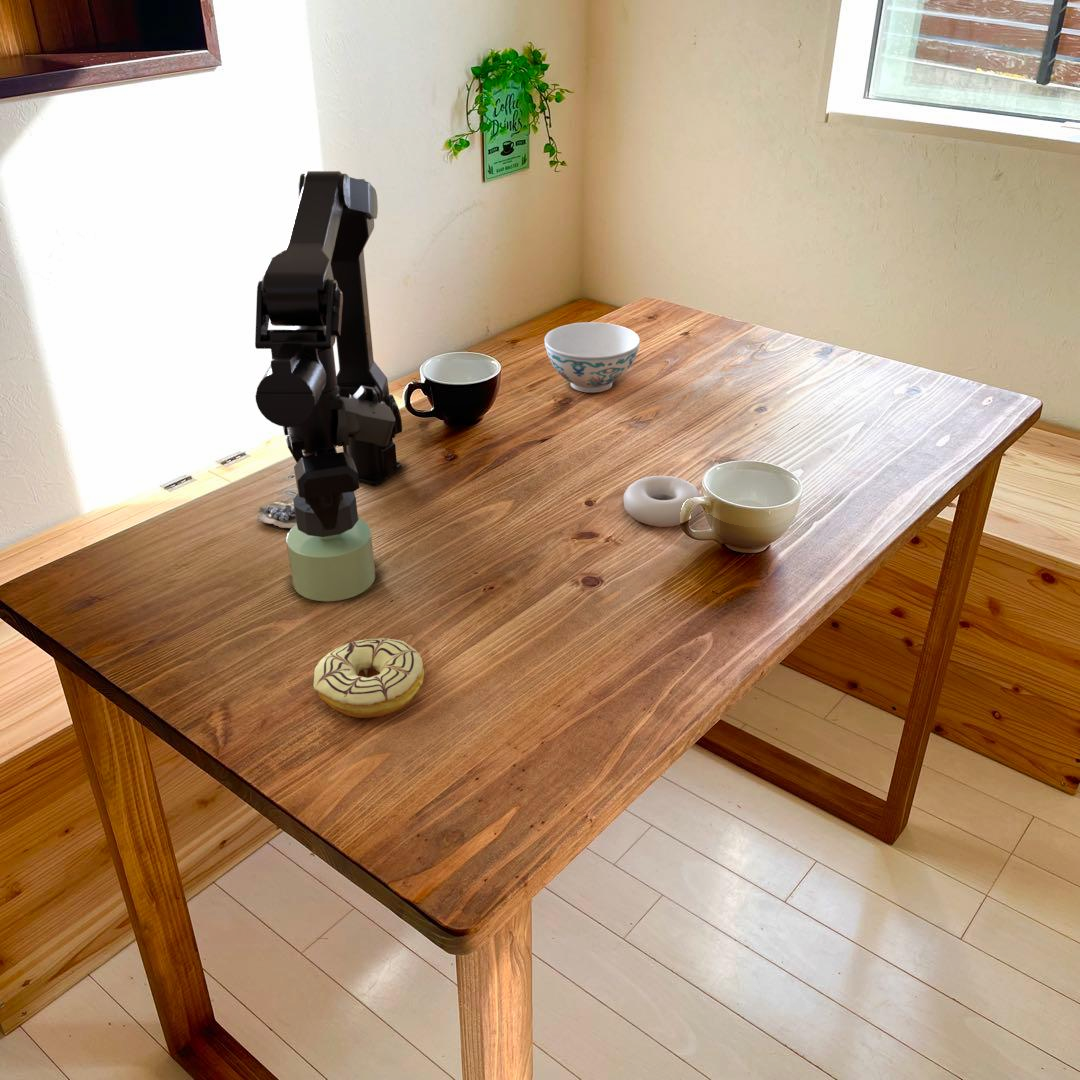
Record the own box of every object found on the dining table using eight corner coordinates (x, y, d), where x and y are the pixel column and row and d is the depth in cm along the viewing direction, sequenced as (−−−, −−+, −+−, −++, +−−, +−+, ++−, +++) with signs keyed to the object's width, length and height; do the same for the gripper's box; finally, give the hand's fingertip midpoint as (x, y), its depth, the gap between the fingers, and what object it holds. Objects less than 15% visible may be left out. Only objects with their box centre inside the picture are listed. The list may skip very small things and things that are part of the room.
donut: (617, 528, 139) (697, 535, 137) (618, 504, 137) (699, 510, 135) (628, 491, 147) (703, 496, 145) (628, 468, 145) (705, 473, 143)
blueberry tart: (263, 504, 145) (261, 491, 144) (324, 503, 145) (322, 490, 144) (252, 530, 139) (250, 517, 138) (316, 529, 139) (314, 516, 138)
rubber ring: (287, 533, 123) (283, 509, 122) (311, 503, 129) (308, 481, 127) (344, 539, 122) (341, 516, 120) (366, 509, 128) (363, 487, 126)
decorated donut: (347, 651, 117) (343, 622, 115) (440, 670, 114) (438, 640, 112) (298, 711, 109) (293, 681, 107) (397, 734, 106) (394, 703, 104)
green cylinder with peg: (275, 588, 128) (264, 521, 123) (326, 549, 135) (318, 484, 130) (342, 610, 124) (334, 541, 119) (391, 569, 131) (385, 502, 126)
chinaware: (641, 403, 171) (643, 356, 167) (544, 403, 171) (543, 357, 167) (635, 366, 184) (636, 321, 180) (545, 366, 184) (544, 322, 180)
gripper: (401, 411, 111) (412, 543, 119) (371, 345, 126) (382, 466, 134) (289, 426, 108) (308, 560, 116) (272, 357, 124) (290, 480, 132)
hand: (326, 513), depth 125 cm, fingers closed on rubber ring, 7 cm apart
